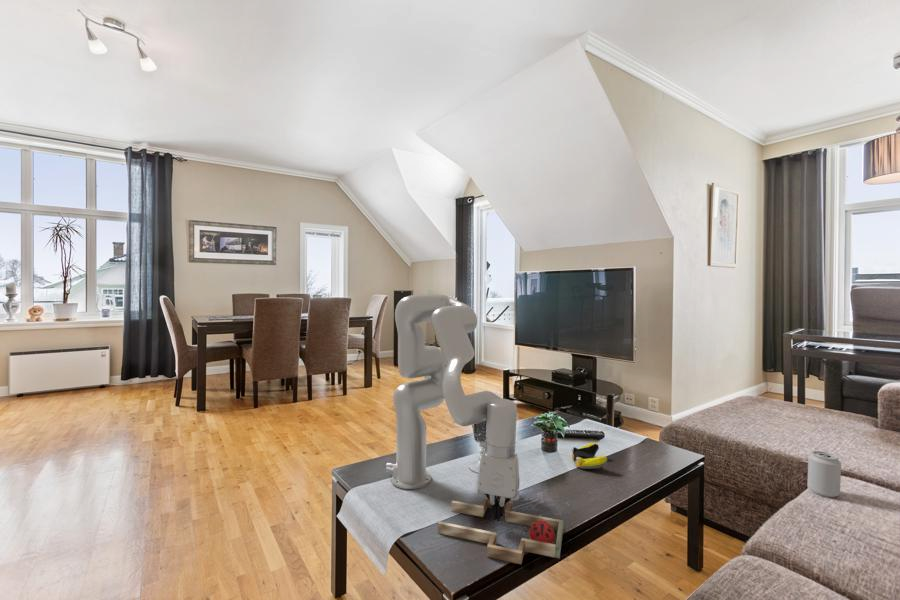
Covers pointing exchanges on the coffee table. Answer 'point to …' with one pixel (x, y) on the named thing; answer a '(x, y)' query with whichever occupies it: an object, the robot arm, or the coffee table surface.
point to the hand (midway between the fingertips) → (497, 517)
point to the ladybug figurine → (542, 532)
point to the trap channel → (491, 537)
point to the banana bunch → (588, 457)
